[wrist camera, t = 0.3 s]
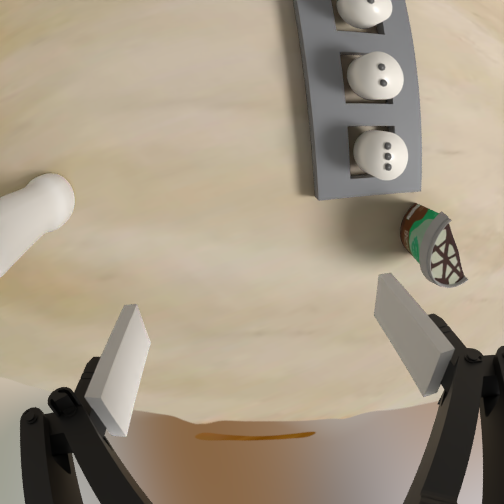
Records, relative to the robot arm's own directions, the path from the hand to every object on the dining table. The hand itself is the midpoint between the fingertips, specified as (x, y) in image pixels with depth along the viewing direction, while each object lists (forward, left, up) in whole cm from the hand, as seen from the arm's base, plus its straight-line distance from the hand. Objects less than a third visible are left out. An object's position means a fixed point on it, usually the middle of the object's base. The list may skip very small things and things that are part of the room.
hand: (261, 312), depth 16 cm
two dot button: (-14, +18, -25) cm, 33 cm away
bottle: (-4, -27, -27) cm, 39 cm away
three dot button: (-4, +18, -25) cm, 31 cm away
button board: (-14, +18, -27) cm, 35 cm away
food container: (+10, +26, -27) cm, 39 cm away
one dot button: (-24, +18, -25) cm, 39 cm away
